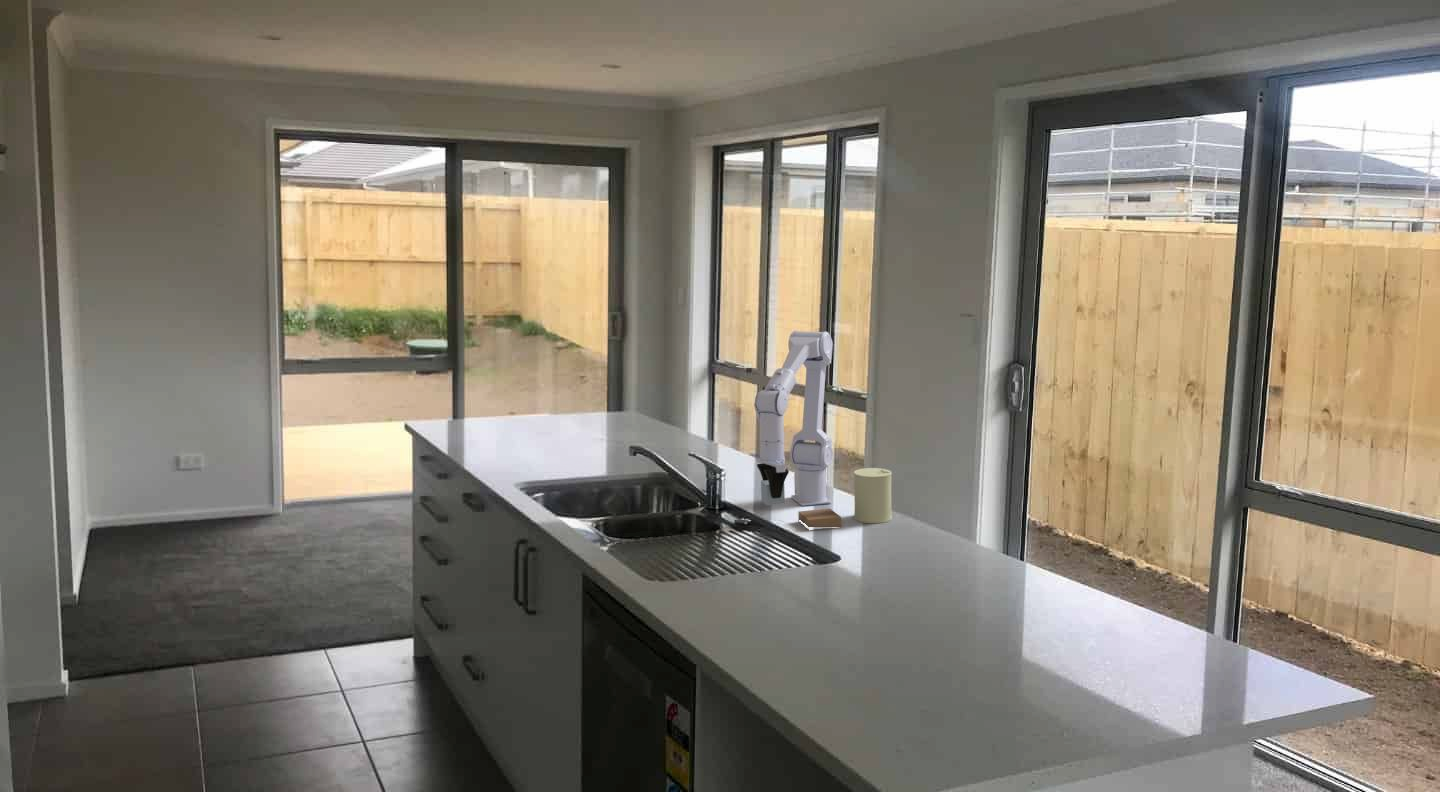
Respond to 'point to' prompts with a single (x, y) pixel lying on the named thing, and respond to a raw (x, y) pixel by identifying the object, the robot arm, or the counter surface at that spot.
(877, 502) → the can
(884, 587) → the counter surface
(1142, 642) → the counter surface
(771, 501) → the block
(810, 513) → the slab
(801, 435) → the robot arm
